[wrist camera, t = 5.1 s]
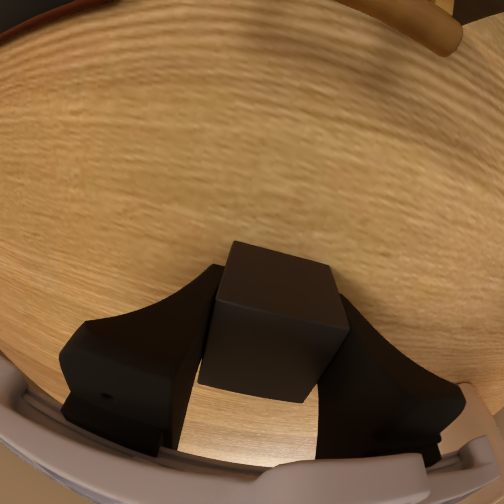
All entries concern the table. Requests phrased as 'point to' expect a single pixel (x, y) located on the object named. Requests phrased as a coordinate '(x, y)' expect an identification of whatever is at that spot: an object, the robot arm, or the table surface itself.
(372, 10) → the drawer
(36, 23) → the smartphone
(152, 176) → the table surface
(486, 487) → the candle holder
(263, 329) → the block
